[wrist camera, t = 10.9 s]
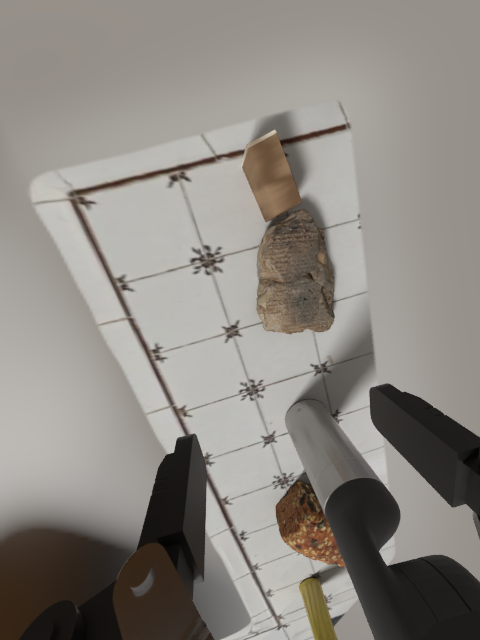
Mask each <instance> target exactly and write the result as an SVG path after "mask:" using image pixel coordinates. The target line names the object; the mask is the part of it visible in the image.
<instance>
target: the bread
mask: <svg viewBox="0 0 480 640" xmlns="http://www.w3.org/2000/svg"><path fill="white" fill-rule="evenodd" d="M276 518H277V523H278V525H279V531H280V535H281V537H282V539H283V540H284V542H285V543H287V545H289V546H290V547H291V548H292V549H293V550H294V551H297V552H298V553H301V554H303V555H304V556H306V557H309V558H311V559H313V560H319V561H322V562H325V563H327V564H332V565H334V564H335V565H339V566H341V567H344V566H345V564H344V561H343V559H342V556H341V554H340V551H339V549H338V546H337V544H336V541H335V538H334V536H333V533H332V530H331V528H330V526H329V523H328V521H327V519H326V517H325V514H324V512H323V510H322V507H321V505H320V503H319V501H318V498H317V496H316V494H315V492H314V489H313V487H312V486H310V485H309V484H308V485H307V484H305V483H302V482H301V481H298V482H295V484H294V485H293V486H292V487H290V489H289V491H288V494H287V495H286V496H285V497H284V498H282V499H281V500H280V502H279V503H278V504H277V506H276ZM345 567H346V566H345Z"/></svg>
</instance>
